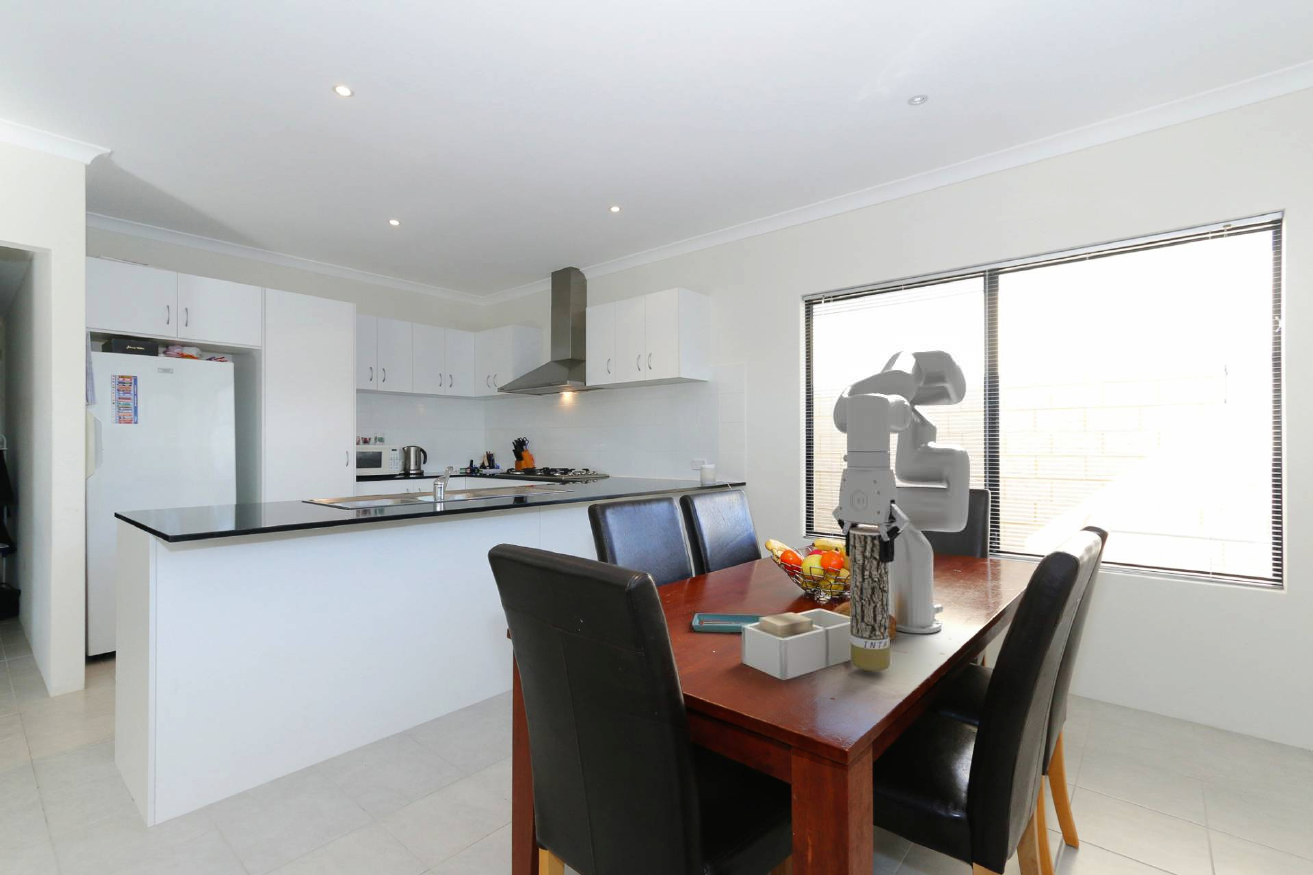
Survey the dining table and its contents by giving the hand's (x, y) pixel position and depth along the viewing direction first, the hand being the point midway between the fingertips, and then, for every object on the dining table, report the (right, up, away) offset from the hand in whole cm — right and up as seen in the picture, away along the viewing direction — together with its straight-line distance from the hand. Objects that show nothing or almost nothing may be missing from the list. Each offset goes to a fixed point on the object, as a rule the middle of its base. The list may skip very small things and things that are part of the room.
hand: (869, 557), depth 115 cm
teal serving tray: (-18, -22, +28) cm, 39 cm away
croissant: (+6, -22, +22) cm, 32 cm away
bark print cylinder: (0, -20, 0) cm, 20 cm away
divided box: (-11, -21, +7) cm, 25 cm away
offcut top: (-14, -15, +4) cm, 21 cm away
